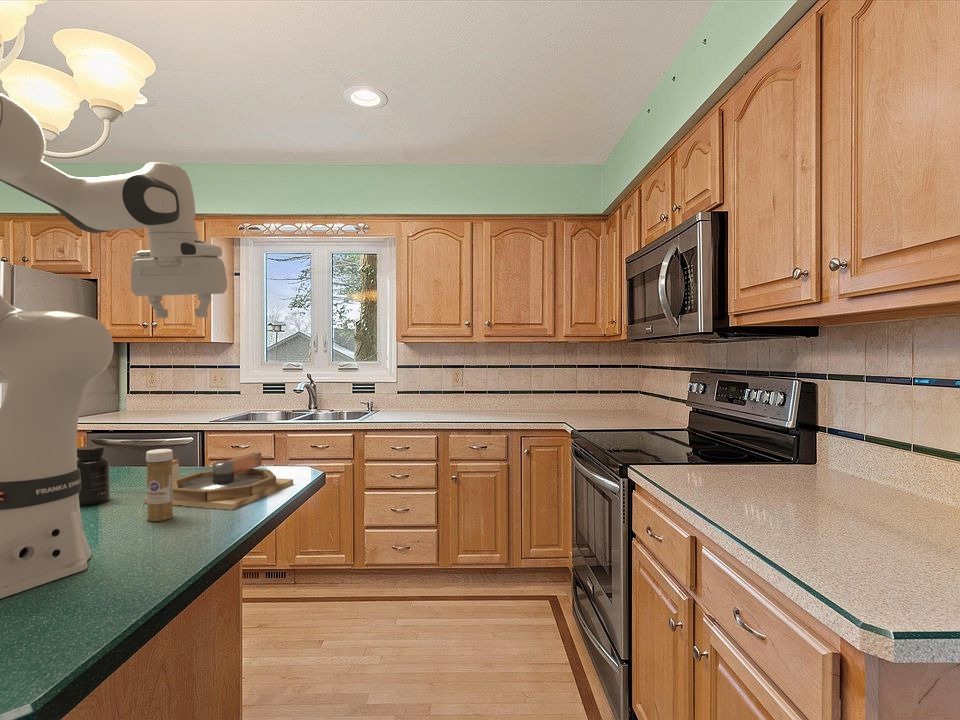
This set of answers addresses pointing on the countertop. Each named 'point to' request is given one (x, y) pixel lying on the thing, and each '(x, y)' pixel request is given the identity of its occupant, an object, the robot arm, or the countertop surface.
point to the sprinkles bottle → (159, 484)
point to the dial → (228, 474)
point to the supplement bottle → (93, 475)
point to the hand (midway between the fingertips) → (181, 317)
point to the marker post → (175, 469)
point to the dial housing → (226, 491)
